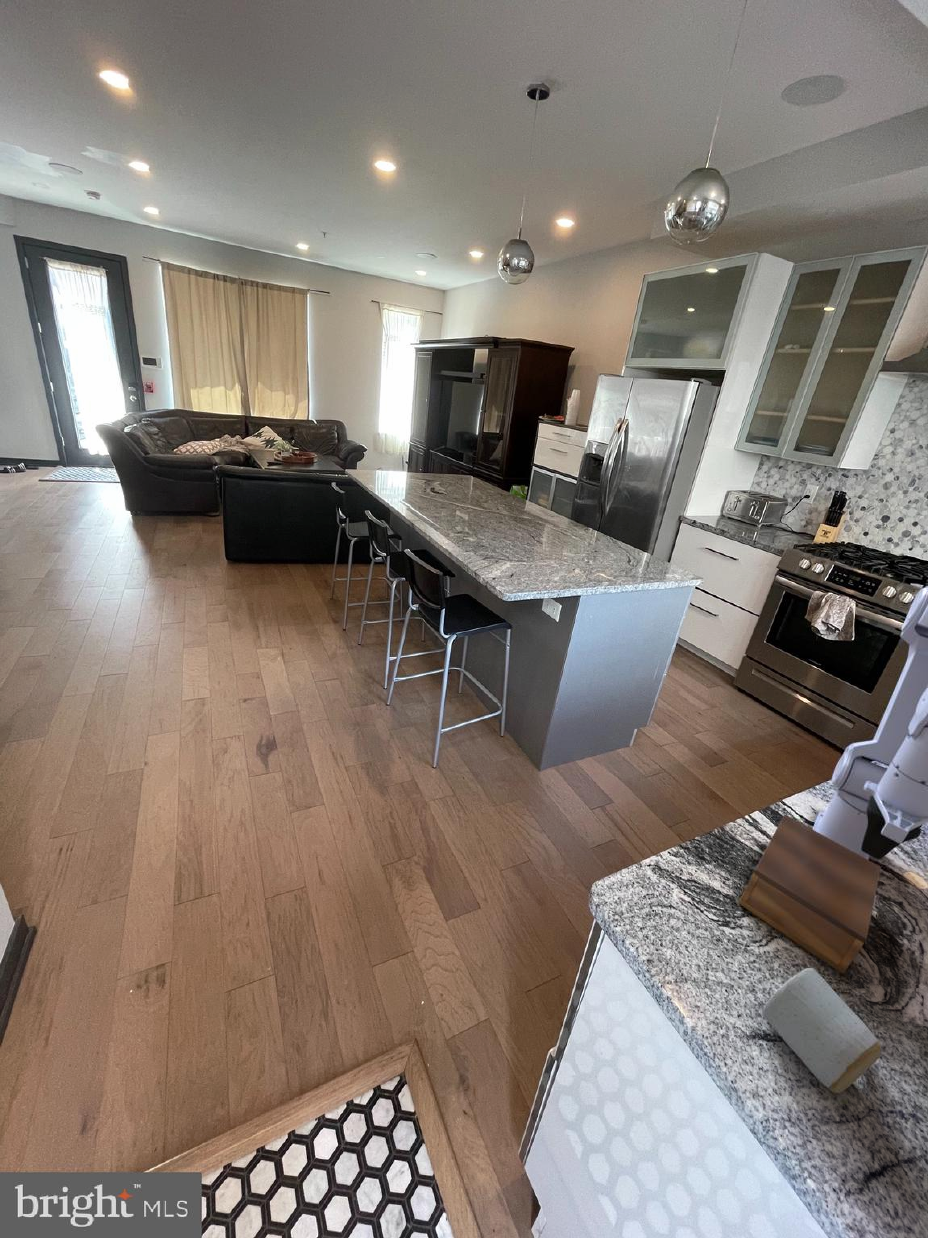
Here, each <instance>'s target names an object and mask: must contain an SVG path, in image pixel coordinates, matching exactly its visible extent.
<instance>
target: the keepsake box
mask: <svg viewBox="0 0 928 1238" xmlns="http://www.w3.org/2000/svg"><path fill="white" fill-rule="evenodd" d="M738 904H739V905H740V906H742V907H743V908H744V909H746V910H747V911H749V912H751V913H752V914H753V915H755V916H756V917H758V918H759V919H761V920H762V921H764V922H765V923H767V924H768V925H769V926H771V927H773V928H774V929H775V930H777V931H778V932H780V933H782V934H783V935H784V936H786V937H787V938H788V939H790V940H791V941H793V942H795V943H796V944H797V945H799V946H801V947H802V948H803V949H805V950H806V951H808V952H810V953H811V954H812V955H814V956H815V957H817V958H818V959H819V960H821V961H823V962H824V963H826V964H827V965H828V966H830V967H832V968H833V969H835V970H836V971H838V972H839V973H840V974H841V975H844V974H845V972H846V970H847V969H848V968H849V966H850V965H851V963H852V961H853V960H854V959H855V957H856V956H857V954H858V953H859V952H860V950H861V948H862V947H863V946H864V944H865V942H864V943H863V942H862V941H860V940H859V939H857V938H856V937H854V936H852V935H851V934H849V933H848V932H846V931H844V930H843V929H841V928H840V927H838V926H837V925H835V924H833V923H832V922H830V921H829V920H827V919H826V918H824V917H822V916H821V915H819V914H818V913H816V912H814V911H813V910H811V909H810V908H808V907H807V906H805V905H803V904H802V903H800V902H799V901H797V900H796V899H794V898H792V897H791V896H789V895H788V894H786V893H784V892H783V891H781V890H780V889H778V888H777V887H775V886H773V885H772V884H770V883H769V882H767V881H765V880H764V879H762V878H761V877H759V876H758V875H756V874H754V872H753V873H752V875H751V877H750V879H749V881H748V882H747V885H746V887H745V888H744V891H743V893H742V895H741V897H740V898H739V900H738Z"/></svg>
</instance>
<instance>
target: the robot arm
mask: <svg viewBox="0 0 928 1238" xmlns="http://www.w3.org/2000/svg"><path fill="white" fill-rule="evenodd" d="M900 630H901V633H900V638H901V639H902V640H904V642H906V643H907V644H908V647H909V648H908V655H907V659H906V662H905V664H904V667H903V669H902V671H901V673H900V676H899V678H898V681H897V683H896V685H895V688H894V690H893V693H892V695H891V696H890V699H889V702H888V704H887V706H886V709H885V711H884V713H883V716H882V718H881V720H880V722H879V725H878V728H877V730H876V732H875V734H874V737H873V739H872V740H865V741H859V742H853V743H851V744H849V745H848V746H847V747H845V749H844V752H843V754H842V755H841V757H840V758H839V760H838V761H837V764H836V765H835V768H834V771H833V773H832V777H831V784H832V787H833V788H834V789H836V791H835V793H834V794H833V796H832V798H831V800H830V802H829V804H828V805H827V807H826V809H825V811H819V812H818V815H817V817H816V819H815V822H814V824H813V826H812V829H813V830H814V831H816V832H818V833H820V834H822V835H824V836H825V837H827V838H829V839H831V840H833V841H834V842H836V843H838V844H840V845H842V846H844V847H845V848H847V849H849V850H851V851H853V852H855V853H856V854H858V855H860V856H862V857H864V858H866V859H867V860H869V859H870V856H871V857H872V858H874V859H876V860H877V861H878V860H881V859H883V858H884V857H886V856H887V855H888V854H889V853H890V852H892V851H893V850H894V849H895V848H897V847H898V846H900V845H902V844H904V843H906V842H908V841H912V840H916V839H918V838H919V837H920V836H921V833H922V827H923V825H925V824H926V823H928V585H926V586H925V587H923V588H921V589H920V590H919V591H918V593H916V595H915V598H914V599H913V602H912V603H911V605H910V608H909V610H908V612H907V614H906V616H905V620H904V622H903V623H902V626H901V629H900ZM862 757H864V758H862ZM865 758H866V759H865ZM867 759H869V760H867ZM870 760H872V761H874V762H872V761H870ZM875 762H876V763H875ZM878 763H879V764H878ZM881 764H882V765H884V766H887V767H884V766H882V765H881Z"/></svg>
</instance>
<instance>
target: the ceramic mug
mask: <svg viewBox="0 0 928 1238" xmlns="http://www.w3.org/2000/svg"><path fill="white" fill-rule="evenodd" d="M761 1011H762V1012H761V1013H762V1016H763V1017H764V1019H765V1020H766V1021H767V1022H768V1024H769V1025H771V1027H772V1029H774V1030H775V1032H777V1034H778V1035H779V1036H780V1037H781V1039H782V1040H783V1041H784V1042H785V1043H786V1044H787V1046H789V1048H790V1049H791V1050H792V1051H793V1052H794V1053H795V1055H797V1056H798V1058H799V1059H800V1060H801V1061H802V1063H803V1064H804V1065H805V1066H806V1067H807V1068H808V1070H809V1071H810V1072H811V1073H812V1075H813V1076H814V1077H815V1078H816V1080H818V1081H819V1083H821V1084H822V1085H823V1086H824V1087H825V1088H827V1089H828V1090H829V1091H830V1092H832V1093H835V1094H841V1093H842V1092H844V1091H845V1090H847V1089H848V1088H849V1087H850V1086H851V1085H853V1084H854V1083H855V1082H856V1081H857V1080H858V1079H859V1078H860V1077H861V1076H863V1075H864V1074H865V1073H866V1072H867V1071H868V1070H869V1069H870V1068H871V1067H872V1066H873V1065H874V1064H875V1063H876V1062H877V1061H878V1060H879V1059H880V1058H881V1056H882V1054H883V1048H882V1045H881V1043H880V1041H879V1040H878V1039H877V1038H876V1035H874V1034H873V1032H872V1031H871V1030H870V1028H869V1027H868V1026H867V1025H866V1024H865V1022H864V1021H863V1020H861V1018H860V1017H859V1016H858V1015H857V1014H856V1013H855V1012H854V1011H853V1010H852V1009H851V1008H850V1007H849V1006H848V1005H847V1003H845V1001H844V1000H843V999H842V998H841V996H839V995H838V994H837V992H836V991H835V990H834V989H833V988H832V987H831V986H830V985H829V983H828V982H827V981H826V980H825V979H824V977H822V976H821V974H820V973H819V972H817V970H816V969H814V968H813V967H808V968H807V967H806V968H804V969H803V970H801V971H800V972H798V973H796V974H794V975H793V976H792V977H791V978H789V979H788V980H787V981H785V982H784V983H783V985H781V987H779V989H777V990H776V991H775V992H774V993H773V995H772V996H771V997H770V998H769V1000H768V1001H767V1002H766V1003H765V1005H764V1007H763V1008H762V1010H761Z"/></svg>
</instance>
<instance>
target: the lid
mask: <svg viewBox="0 0 928 1238" xmlns="http://www.w3.org/2000/svg"><path fill="white" fill-rule="evenodd" d="M881 870H882V866H881V865H878V864H876V863H874V862H873V861H871V860H869V859H868V860H867V859H866V858H864V857H862V856H860V855H858V854H856V853H855V852H853V851H851V850H849V849H847V848H845V847H844V846H842V845H840V844H838V843H836V842H834V841H833V840H831V839H829V838H827V837H825V836H824V835H822V834H820V833H818V832H816V831H814V830H813V828H811V827H809V826H807V825H805V824H803V823H801V822H800V821H798V820H796V819H795V818H793V817H791V816H789V815H787V814H785V813H784V814H783V816H782V817H781V820H780V821H779V823H778V825H777V827H776V830H775V832H774V833H773V835H772V837H771V839H770V840H769V843H768V845H767V846H766V848H765V850H764V852H763V854H762V855H761V858H760V859H759V862H758V864H757V866H756V867H755V869H754V871H753V873H754V874H756V875H758V876H759V877H761V878H762V879H764V880H765V881H767V882H769V883H770V884H772V885H773V886H775V887H777V888H778V889H780V890H781V891H783V892H784V893H786V894H788V895H789V896H791V897H792V898H794V899H796V900H797V901H799V902H800V903H802V904H803V905H805V906H807V907H808V908H810V909H811V910H813V911H814V912H816V913H818V914H819V915H821V916H822V917H824V918H826V919H827V920H829V921H830V922H832V923H833V924H835V925H837V926H838V927H840V928H841V929H843V930H844V931H846V932H848V933H849V934H851V935H852V936H854V937H856V938H857V939H859V940H860V941H862V942H863V943H864V944H865V942H866V941H867V939H868V934H869V929H870V925H871V924H870V923H871V920H872V914H873V909H874V904H875V899H876V894H877V888H878V884H879V879H880V874H881Z"/></svg>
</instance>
